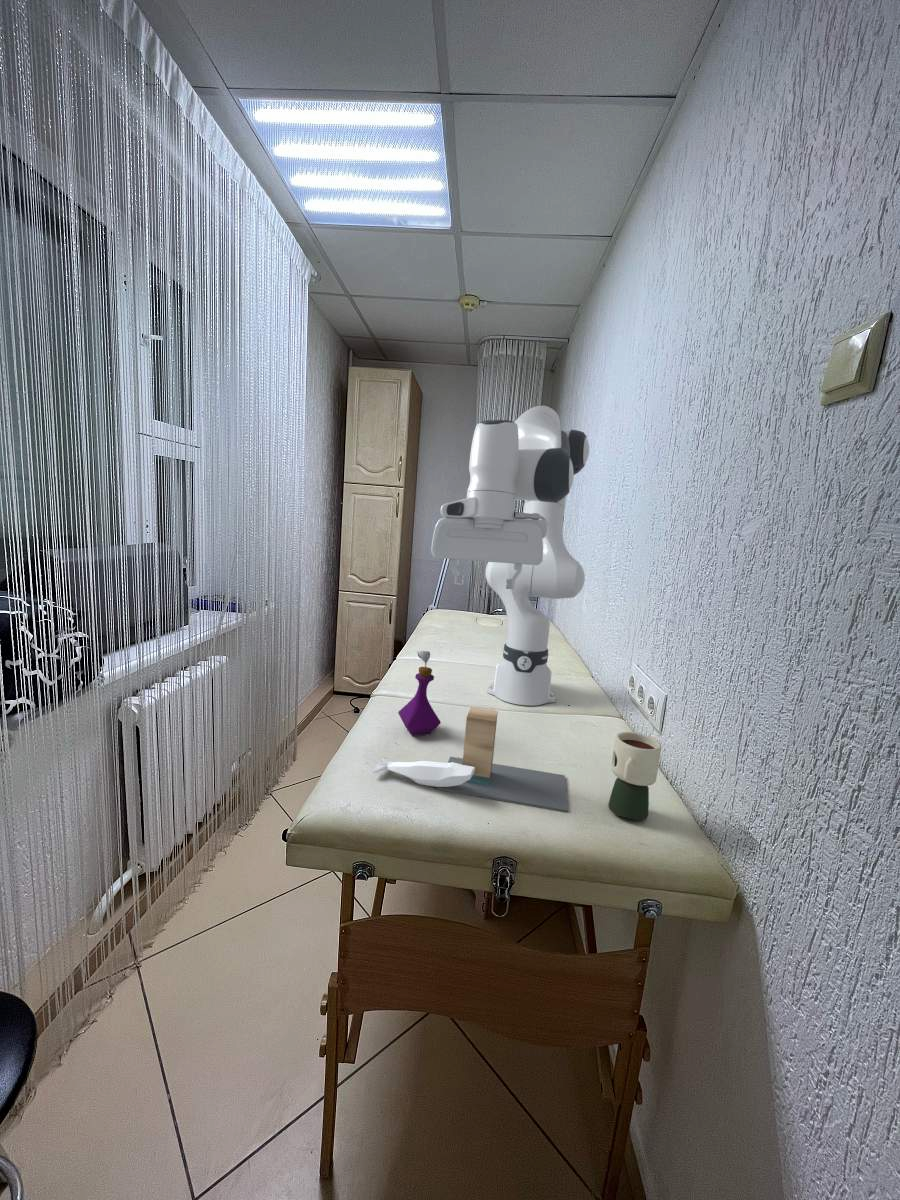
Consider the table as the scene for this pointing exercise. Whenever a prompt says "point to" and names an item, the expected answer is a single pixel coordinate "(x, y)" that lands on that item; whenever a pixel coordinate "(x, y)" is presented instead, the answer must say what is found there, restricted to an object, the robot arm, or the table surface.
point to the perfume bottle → (420, 704)
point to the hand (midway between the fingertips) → (484, 587)
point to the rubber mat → (518, 787)
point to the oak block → (480, 743)
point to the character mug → (633, 774)
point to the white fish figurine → (429, 772)
